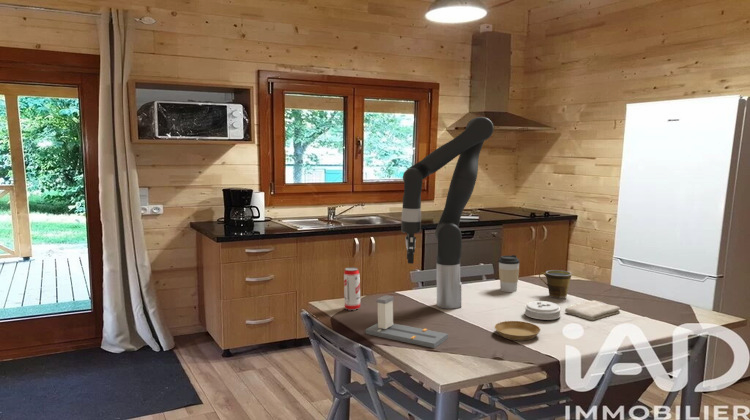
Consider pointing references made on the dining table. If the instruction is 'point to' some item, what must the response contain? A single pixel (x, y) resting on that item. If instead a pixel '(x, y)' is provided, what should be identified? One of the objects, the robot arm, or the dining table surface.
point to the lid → (542, 310)
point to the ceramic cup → (557, 283)
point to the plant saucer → (517, 330)
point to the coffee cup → (508, 273)
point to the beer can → (352, 288)
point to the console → (409, 335)
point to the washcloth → (592, 310)
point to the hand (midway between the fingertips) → (410, 261)
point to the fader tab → (385, 311)
